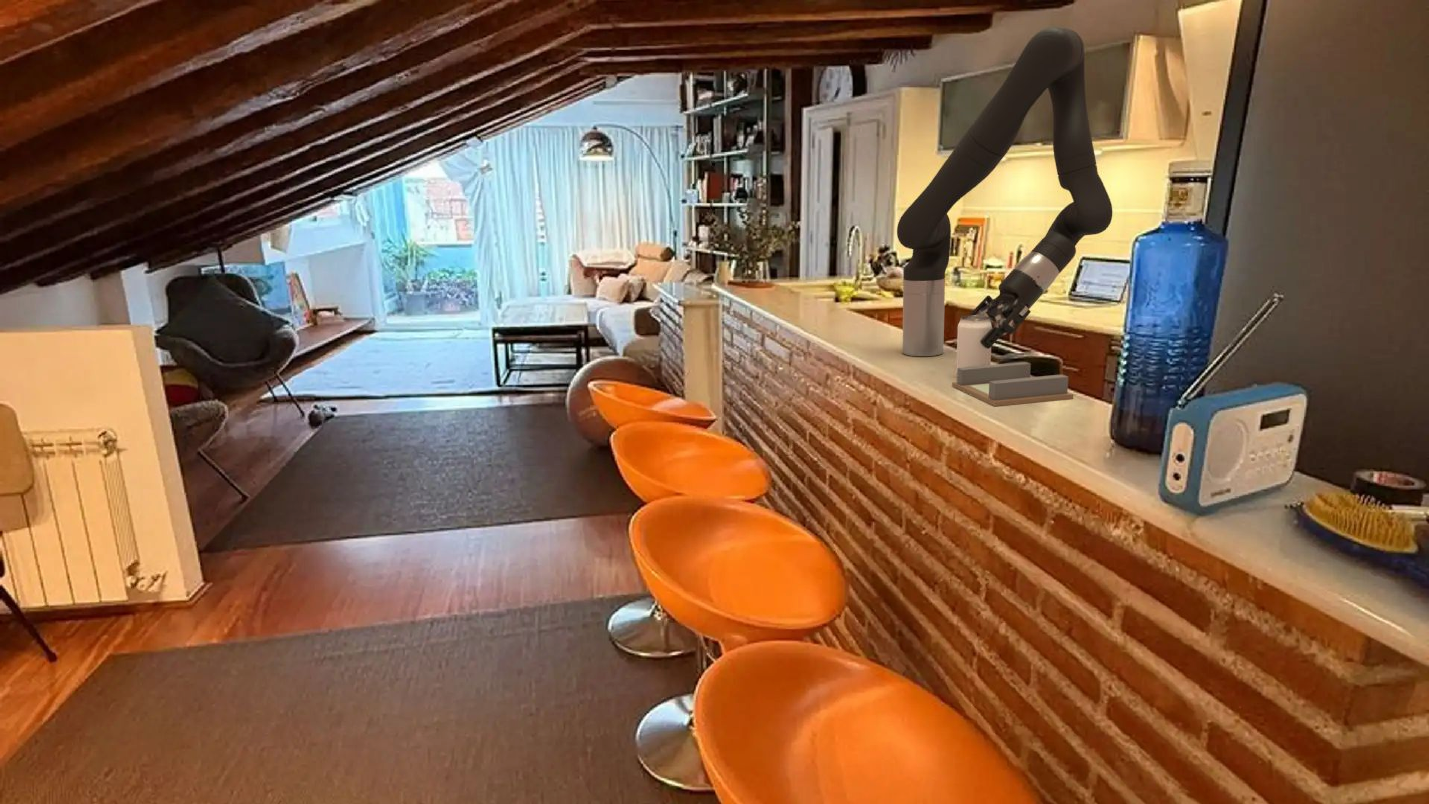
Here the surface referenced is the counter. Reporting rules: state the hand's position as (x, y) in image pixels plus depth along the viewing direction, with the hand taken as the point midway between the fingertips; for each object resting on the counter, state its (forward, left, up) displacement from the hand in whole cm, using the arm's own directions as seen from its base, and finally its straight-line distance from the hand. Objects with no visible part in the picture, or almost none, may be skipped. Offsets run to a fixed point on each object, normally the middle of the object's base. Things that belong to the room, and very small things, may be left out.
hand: (973, 342), depth 158 cm
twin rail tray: (+14, 0, -7) cm, 16 cm away
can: (0, 0, -7) cm, 7 cm away
